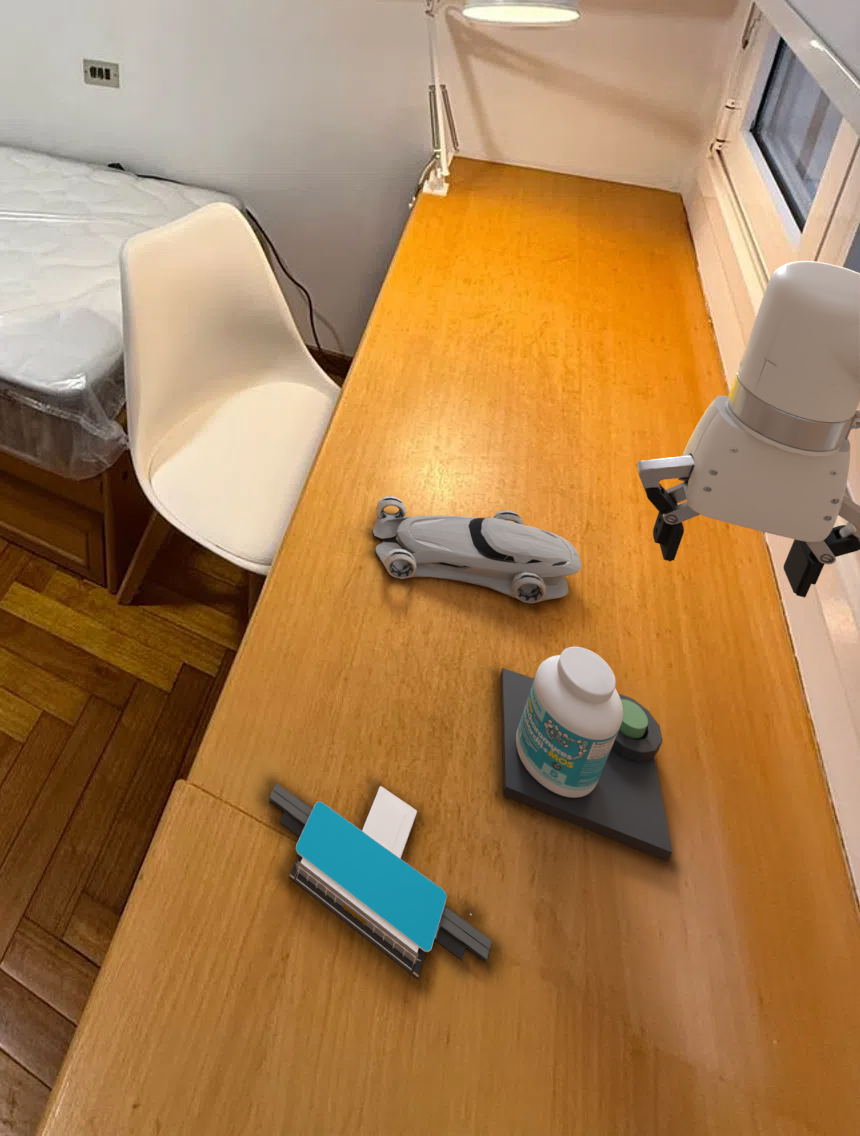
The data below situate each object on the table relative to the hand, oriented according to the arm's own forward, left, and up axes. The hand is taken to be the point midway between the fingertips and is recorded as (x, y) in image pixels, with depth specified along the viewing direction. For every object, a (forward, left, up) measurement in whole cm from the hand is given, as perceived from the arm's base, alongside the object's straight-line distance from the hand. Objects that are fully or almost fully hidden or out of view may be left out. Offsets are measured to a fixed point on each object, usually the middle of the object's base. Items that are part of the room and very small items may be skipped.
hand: (727, 565), depth 74 cm
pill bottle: (+9, +4, -27) cm, 28 cm away
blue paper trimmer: (+24, +19, -28) cm, 42 cm away
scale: (+6, +2, -28) cm, 29 cm away
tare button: (+2, -2, -25) cm, 25 cm away
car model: (+16, -20, -28) cm, 38 cm away
